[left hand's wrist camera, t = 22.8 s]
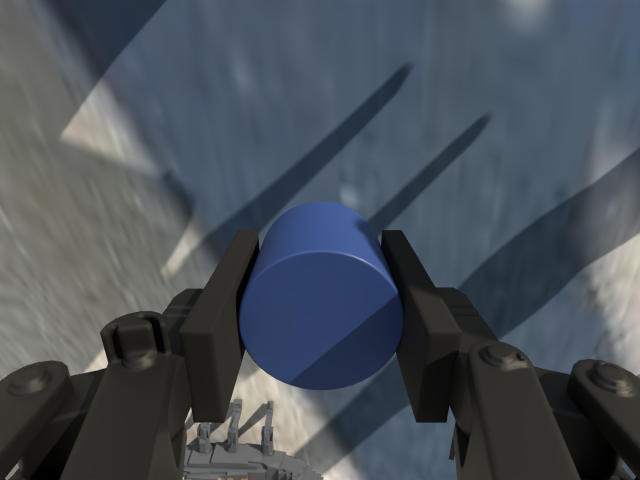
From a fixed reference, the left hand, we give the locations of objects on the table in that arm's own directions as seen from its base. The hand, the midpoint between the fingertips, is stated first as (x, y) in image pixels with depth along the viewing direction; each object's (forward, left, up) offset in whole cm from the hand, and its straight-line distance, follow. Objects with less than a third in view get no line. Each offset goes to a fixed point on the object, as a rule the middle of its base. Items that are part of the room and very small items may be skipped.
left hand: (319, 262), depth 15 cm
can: (0, 0, 0) cm, 0 cm away
